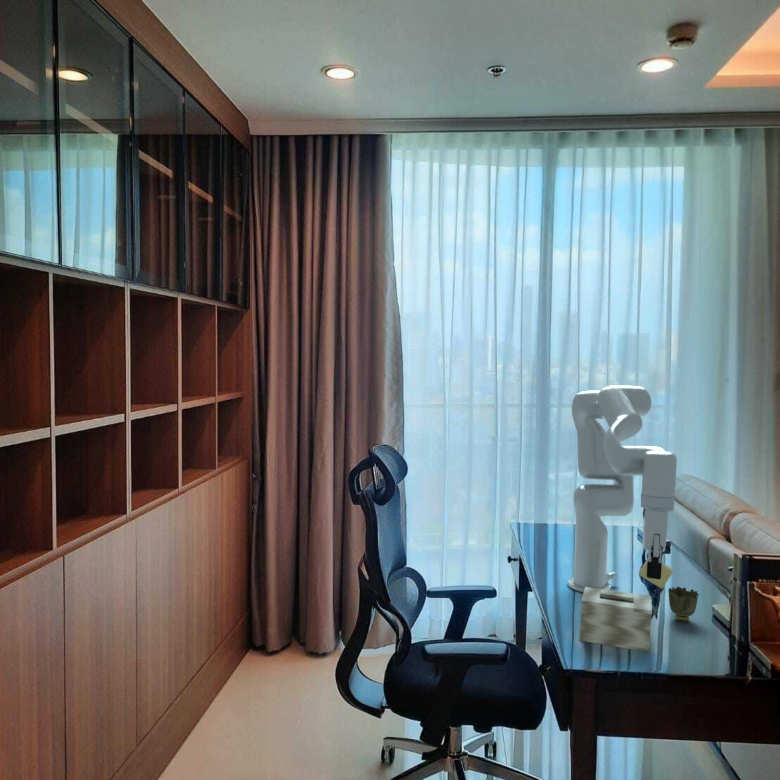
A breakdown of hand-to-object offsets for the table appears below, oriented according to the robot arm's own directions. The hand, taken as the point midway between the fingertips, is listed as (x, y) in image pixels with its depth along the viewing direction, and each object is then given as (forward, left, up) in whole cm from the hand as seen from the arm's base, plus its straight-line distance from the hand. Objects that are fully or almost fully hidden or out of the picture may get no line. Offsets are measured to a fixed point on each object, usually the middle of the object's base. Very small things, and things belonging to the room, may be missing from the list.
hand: (653, 576), depth 165 cm
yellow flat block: (-2, +2, 0) cm, 3 cm away
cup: (-20, -7, -17) cm, 28 cm away
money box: (+6, -6, -17) cm, 19 cm away
